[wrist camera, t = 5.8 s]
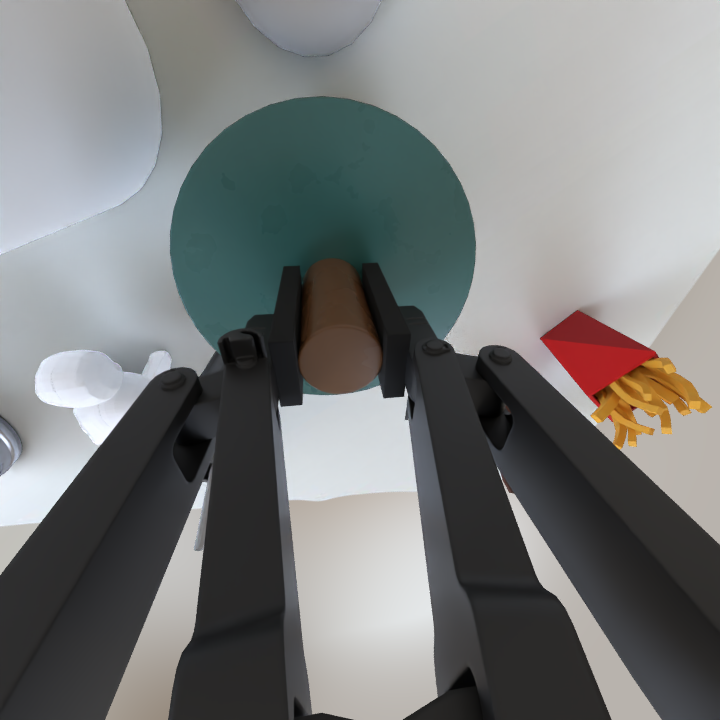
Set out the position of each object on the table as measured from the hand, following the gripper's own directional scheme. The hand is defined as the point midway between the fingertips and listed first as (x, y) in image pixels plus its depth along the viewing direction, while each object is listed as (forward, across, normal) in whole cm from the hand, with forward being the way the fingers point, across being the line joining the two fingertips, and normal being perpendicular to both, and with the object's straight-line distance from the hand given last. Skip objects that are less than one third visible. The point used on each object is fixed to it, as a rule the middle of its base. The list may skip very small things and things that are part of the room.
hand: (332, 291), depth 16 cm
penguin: (+15, -21, -15) cm, 30 cm away
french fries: (+15, +27, -13) cm, 33 cm away
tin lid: (+1, 0, 0) cm, 1 cm away
